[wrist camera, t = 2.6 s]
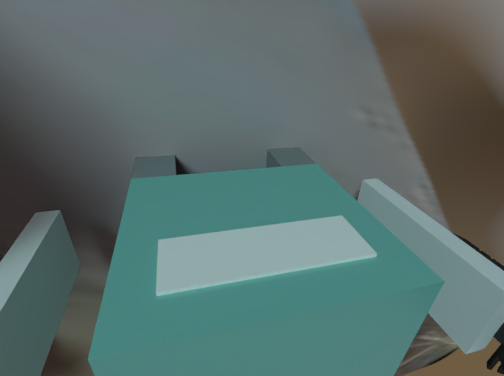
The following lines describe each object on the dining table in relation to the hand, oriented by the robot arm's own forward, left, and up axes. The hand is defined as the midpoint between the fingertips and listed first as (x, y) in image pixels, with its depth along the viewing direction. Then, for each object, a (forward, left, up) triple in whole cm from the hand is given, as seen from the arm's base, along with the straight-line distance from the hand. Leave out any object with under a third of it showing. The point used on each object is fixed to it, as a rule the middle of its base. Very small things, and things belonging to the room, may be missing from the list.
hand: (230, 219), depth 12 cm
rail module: (0, 0, -1) cm, 1 cm away
